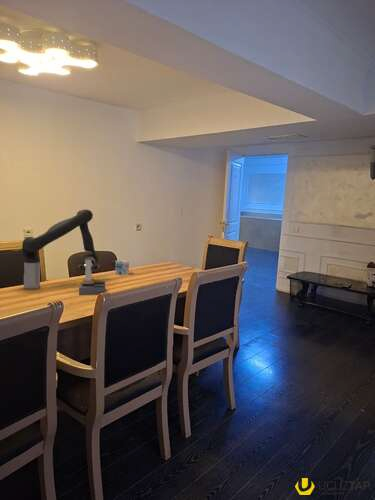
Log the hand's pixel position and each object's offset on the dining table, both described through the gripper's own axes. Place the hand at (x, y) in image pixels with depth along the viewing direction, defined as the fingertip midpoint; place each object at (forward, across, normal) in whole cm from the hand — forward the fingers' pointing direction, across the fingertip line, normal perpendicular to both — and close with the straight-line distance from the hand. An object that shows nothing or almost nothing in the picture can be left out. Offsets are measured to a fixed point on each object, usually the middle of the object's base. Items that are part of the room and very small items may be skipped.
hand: (88, 268), depth 218 cm
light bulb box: (-56, +24, +17) cm, 63 cm away
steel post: (-3, 0, +10) cm, 10 cm away
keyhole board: (-3, +2, +16) cm, 16 cm away
